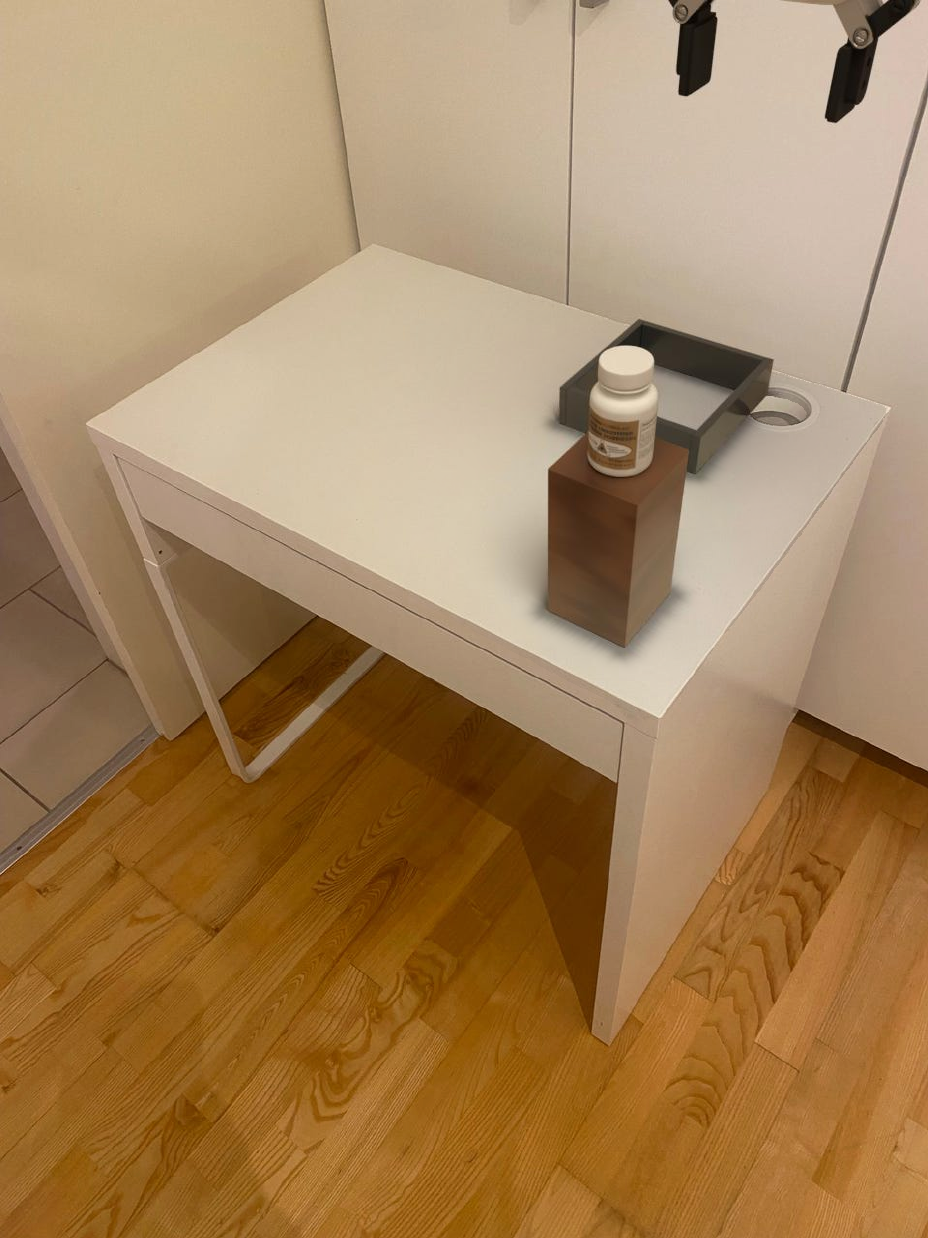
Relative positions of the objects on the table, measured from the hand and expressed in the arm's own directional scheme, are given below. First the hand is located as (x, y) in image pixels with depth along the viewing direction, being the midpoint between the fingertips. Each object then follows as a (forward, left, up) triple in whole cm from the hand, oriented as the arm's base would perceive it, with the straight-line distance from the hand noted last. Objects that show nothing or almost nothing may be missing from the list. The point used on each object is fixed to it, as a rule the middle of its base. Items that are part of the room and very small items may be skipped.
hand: (764, 101), depth 59 cm
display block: (+6, +14, -32) cm, 35 cm away
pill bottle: (+6, +14, -18) cm, 24 cm away
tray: (+5, -13, -32) cm, 35 cm away
